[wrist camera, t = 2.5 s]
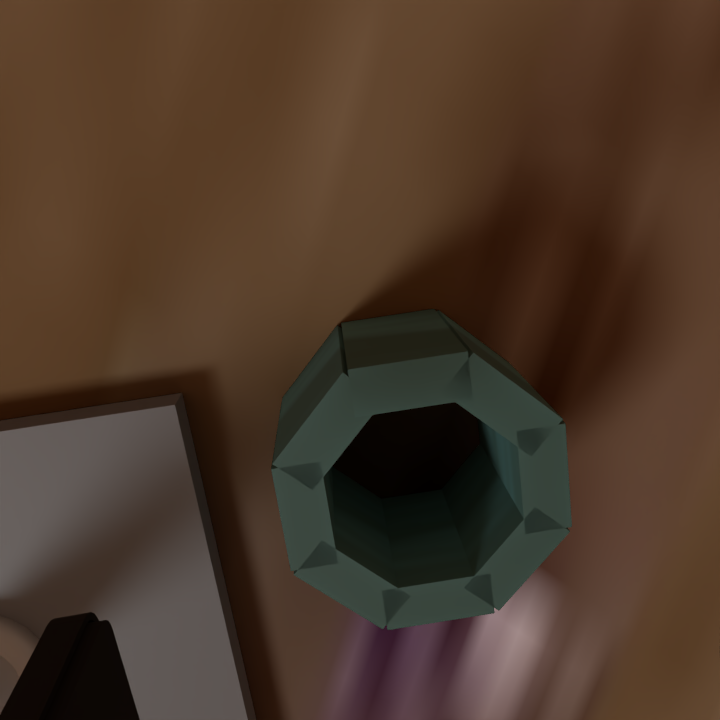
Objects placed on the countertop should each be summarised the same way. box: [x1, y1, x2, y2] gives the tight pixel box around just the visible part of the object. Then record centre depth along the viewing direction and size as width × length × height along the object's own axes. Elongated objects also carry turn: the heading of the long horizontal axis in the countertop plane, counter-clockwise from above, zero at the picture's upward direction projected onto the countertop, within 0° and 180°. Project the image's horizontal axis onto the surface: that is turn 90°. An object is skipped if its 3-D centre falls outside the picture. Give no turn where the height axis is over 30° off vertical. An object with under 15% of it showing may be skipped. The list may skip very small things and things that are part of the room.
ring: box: [271, 309, 572, 630], centre depth 18 cm, size 7×7×4 cm
